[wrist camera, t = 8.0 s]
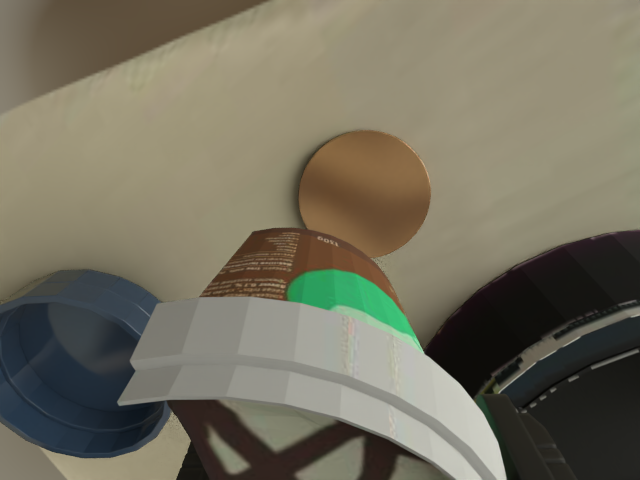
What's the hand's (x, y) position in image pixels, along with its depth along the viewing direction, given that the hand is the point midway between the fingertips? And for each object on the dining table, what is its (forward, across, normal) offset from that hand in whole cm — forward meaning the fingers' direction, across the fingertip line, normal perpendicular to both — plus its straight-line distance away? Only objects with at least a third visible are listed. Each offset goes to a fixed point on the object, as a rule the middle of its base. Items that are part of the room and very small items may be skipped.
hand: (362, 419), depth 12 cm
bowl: (+21, +22, +12) cm, 33 cm away
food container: (+6, 0, 0) cm, 6 cm away
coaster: (+21, -2, -1) cm, 21 cm away
